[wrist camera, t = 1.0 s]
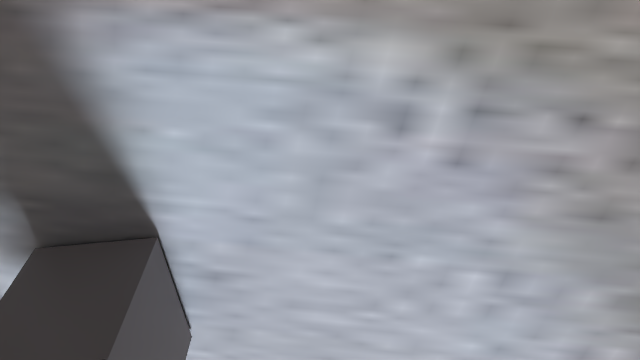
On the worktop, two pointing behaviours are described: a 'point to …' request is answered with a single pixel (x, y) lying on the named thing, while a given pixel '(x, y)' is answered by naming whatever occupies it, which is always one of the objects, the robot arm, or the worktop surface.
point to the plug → (94, 305)
